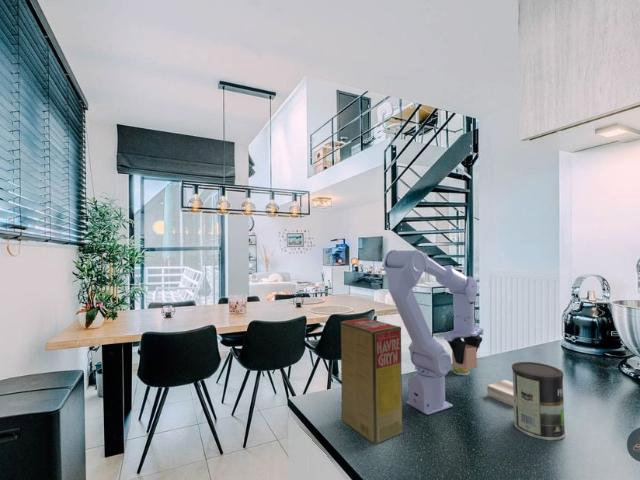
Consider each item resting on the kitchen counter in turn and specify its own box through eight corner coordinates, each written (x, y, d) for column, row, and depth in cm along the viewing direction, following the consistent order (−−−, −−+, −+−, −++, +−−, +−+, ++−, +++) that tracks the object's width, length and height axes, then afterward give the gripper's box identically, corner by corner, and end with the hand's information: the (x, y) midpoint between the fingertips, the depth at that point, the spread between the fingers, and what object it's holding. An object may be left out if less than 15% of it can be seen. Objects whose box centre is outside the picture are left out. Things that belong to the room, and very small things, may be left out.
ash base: (514, 407, 91) (514, 395, 91) (487, 395, 98) (487, 385, 98) (532, 400, 94) (532, 389, 94) (505, 389, 102) (504, 379, 102)
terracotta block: (466, 370, 98) (465, 349, 98) (453, 365, 102) (453, 345, 102) (476, 367, 100) (476, 347, 100) (464, 362, 104) (463, 343, 104)
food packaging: (405, 432, 79) (402, 326, 80) (374, 446, 74) (372, 332, 75) (368, 410, 91) (366, 316, 91) (339, 420, 86) (337, 321, 86)
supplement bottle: (464, 369, 119) (463, 341, 119) (472, 375, 113) (472, 346, 114) (449, 370, 118) (448, 342, 118) (457, 376, 113) (457, 347, 113)
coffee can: (563, 424, 82) (561, 365, 82) (567, 446, 73) (565, 380, 73) (514, 413, 87) (512, 358, 88) (512, 432, 79) (510, 371, 79)
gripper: (457, 321, 94) (459, 370, 94) (491, 315, 101) (493, 361, 101) (438, 316, 101) (439, 362, 100) (471, 311, 107) (472, 354, 107)
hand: (465, 361), depth 101 cm, fingers closed on terracotta block, 4 cm apart
